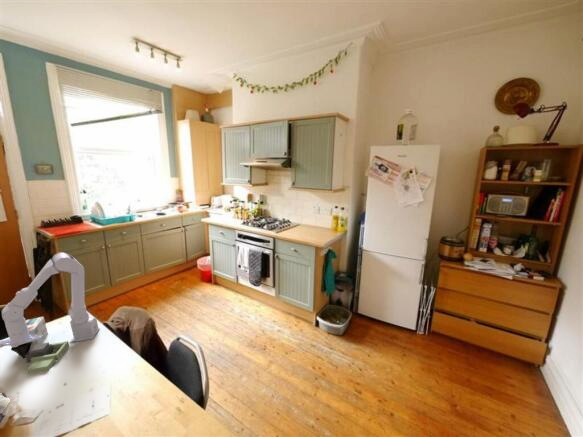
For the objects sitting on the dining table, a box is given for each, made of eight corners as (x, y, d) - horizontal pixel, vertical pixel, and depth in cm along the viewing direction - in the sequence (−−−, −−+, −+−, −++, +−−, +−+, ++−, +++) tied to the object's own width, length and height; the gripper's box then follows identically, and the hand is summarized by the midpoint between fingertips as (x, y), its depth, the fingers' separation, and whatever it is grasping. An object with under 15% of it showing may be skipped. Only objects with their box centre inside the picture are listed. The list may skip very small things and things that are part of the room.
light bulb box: (31, 338, 122) (25, 319, 120) (49, 334, 125) (44, 315, 123) (20, 353, 113) (13, 333, 110) (39, 348, 116) (34, 329, 113)
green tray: (69, 346, 118) (68, 341, 117) (51, 369, 105) (49, 363, 104) (44, 350, 115) (43, 345, 114) (23, 374, 102) (21, 368, 102)
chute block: (53, 351, 115) (50, 341, 113) (46, 359, 110) (43, 349, 108) (34, 354, 113) (31, 344, 111) (26, 363, 108) (23, 352, 107)
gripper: (-12, 340, 100) (-3, 367, 104) (32, 333, 104) (40, 360, 108) (2, 329, 107) (10, 354, 110) (43, 323, 111) (50, 348, 114)
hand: (26, 356), depth 110 cm, fingers closed
